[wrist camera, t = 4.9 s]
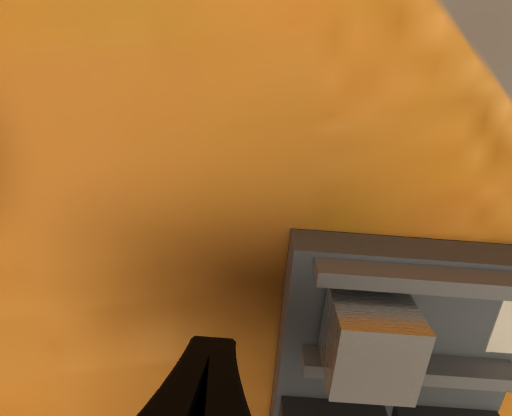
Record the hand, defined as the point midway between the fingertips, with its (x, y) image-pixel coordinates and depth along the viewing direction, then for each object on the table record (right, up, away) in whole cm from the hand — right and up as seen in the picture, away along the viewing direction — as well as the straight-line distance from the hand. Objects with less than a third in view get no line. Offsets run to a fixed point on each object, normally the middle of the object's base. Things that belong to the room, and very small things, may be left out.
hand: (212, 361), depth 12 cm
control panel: (+7, -3, +7) cm, 10 cm away
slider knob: (+6, +1, +3) cm, 6 cm away
